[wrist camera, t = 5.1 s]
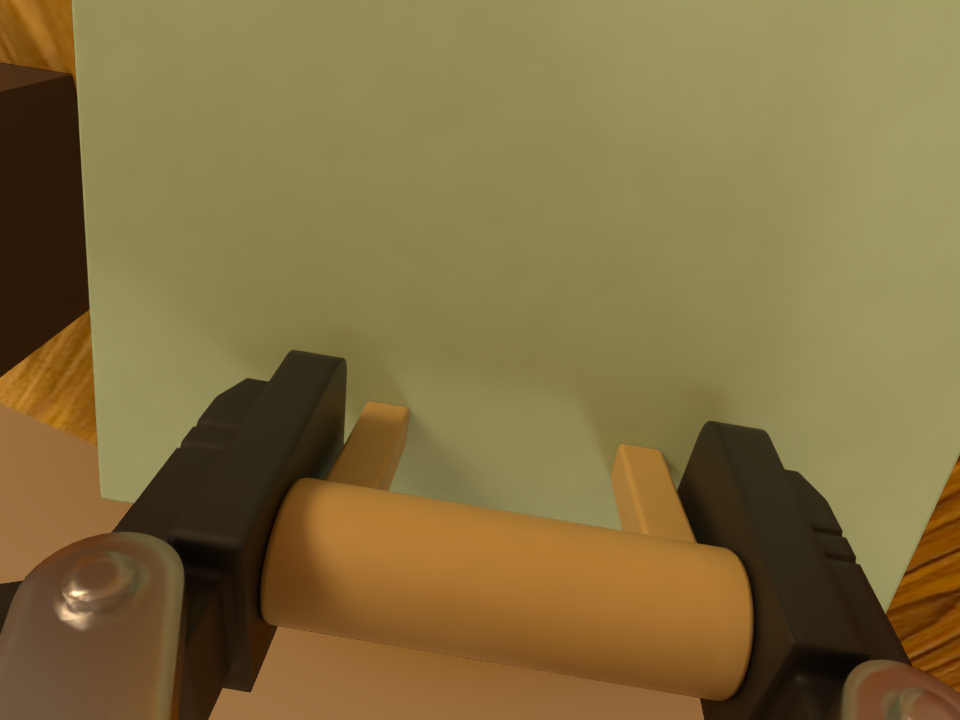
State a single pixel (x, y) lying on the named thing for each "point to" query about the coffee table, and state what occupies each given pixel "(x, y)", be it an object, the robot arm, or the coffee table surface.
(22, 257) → the block
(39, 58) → the coffee table surface
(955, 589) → the coffee table surface
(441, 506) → the chest lid
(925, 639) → the coffee table surface
